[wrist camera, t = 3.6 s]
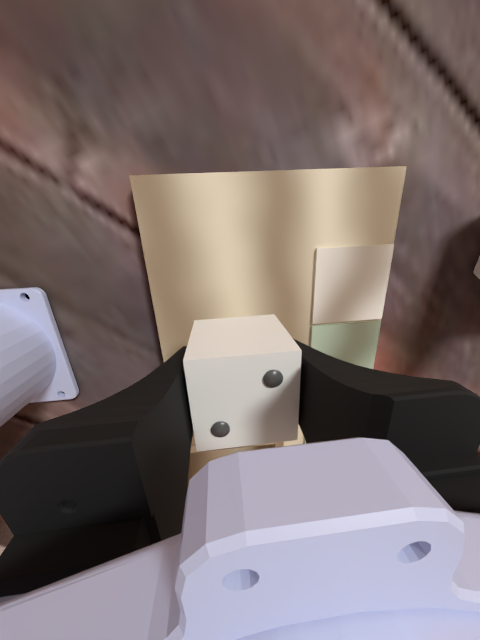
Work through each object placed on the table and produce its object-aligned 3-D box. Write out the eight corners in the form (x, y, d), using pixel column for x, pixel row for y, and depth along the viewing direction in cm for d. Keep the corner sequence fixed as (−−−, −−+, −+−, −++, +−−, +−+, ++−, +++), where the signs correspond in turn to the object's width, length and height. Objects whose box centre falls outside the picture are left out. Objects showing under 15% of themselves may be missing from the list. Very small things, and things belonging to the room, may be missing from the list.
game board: (192, 497, 21) (187, 536, 19) (136, 180, 13) (112, 163, 10) (346, 478, 22) (364, 513, 20) (393, 171, 14) (439, 153, 11)
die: (202, 388, 13) (196, 453, 9) (194, 320, 11) (182, 361, 7) (273, 381, 13) (298, 441, 9) (274, 314, 12) (302, 351, 8)
